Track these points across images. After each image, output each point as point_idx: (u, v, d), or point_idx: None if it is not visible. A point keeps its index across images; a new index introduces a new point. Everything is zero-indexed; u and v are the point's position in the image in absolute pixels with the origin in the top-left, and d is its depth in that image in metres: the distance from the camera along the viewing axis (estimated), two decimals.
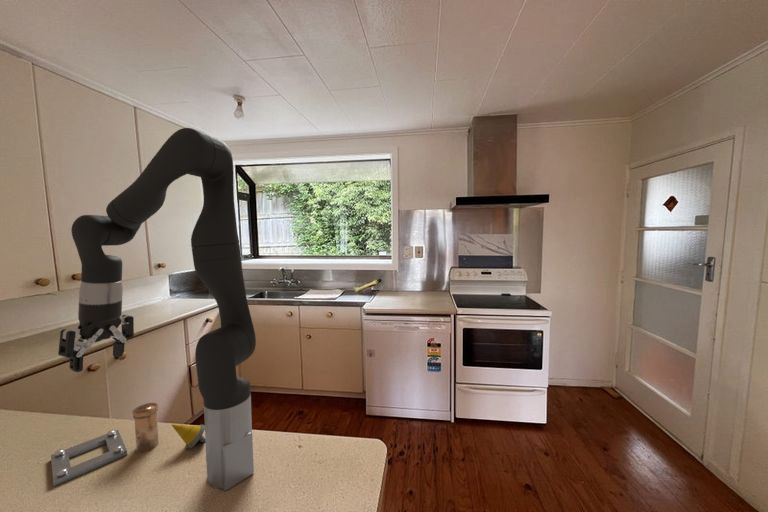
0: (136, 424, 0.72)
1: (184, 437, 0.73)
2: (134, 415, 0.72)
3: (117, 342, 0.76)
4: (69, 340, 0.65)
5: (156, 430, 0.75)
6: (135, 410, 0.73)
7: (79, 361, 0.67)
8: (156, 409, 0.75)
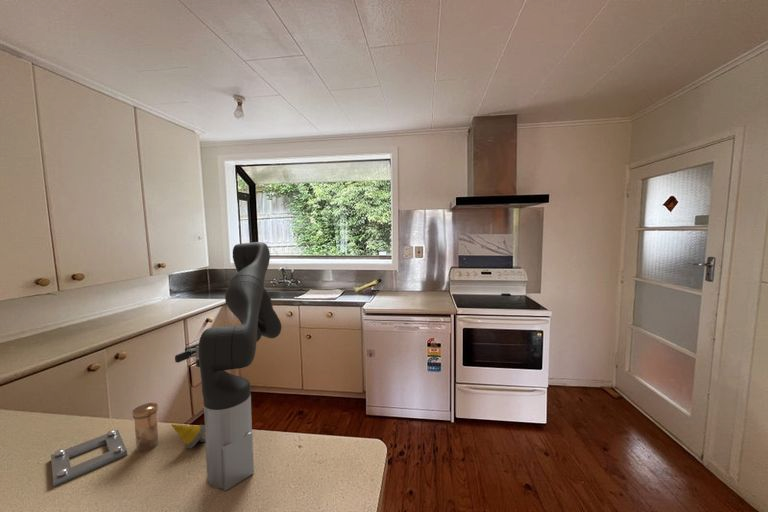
0: (136, 424, 0.72)
1: (184, 437, 0.73)
2: (134, 415, 0.72)
3: None
4: (196, 344, 0.94)
5: (156, 430, 0.75)
6: (135, 410, 0.73)
7: None
8: (156, 409, 0.75)
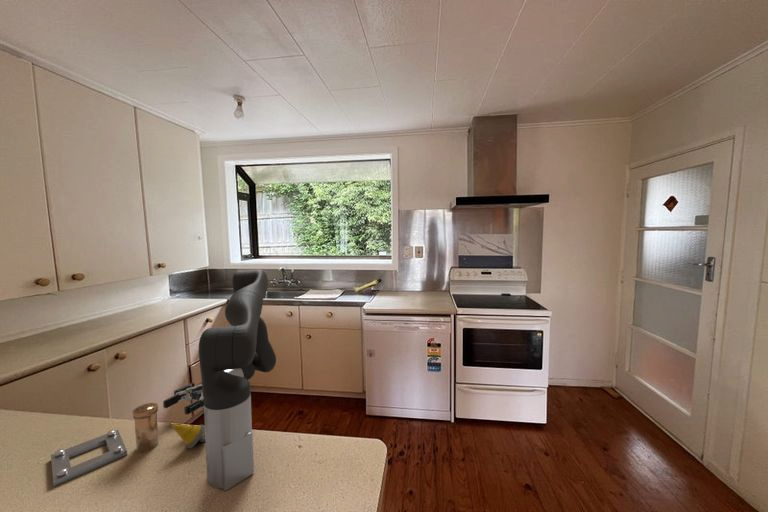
0: (136, 424, 0.72)
1: (184, 437, 0.73)
2: (134, 415, 0.72)
3: None
4: (187, 385, 0.91)
5: (156, 430, 0.75)
6: (135, 410, 0.73)
7: None
8: (156, 409, 0.75)
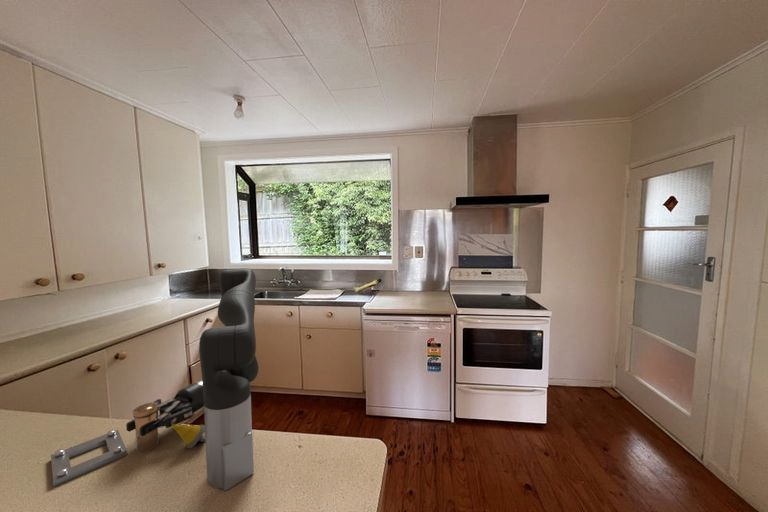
0: (136, 424, 0.72)
1: (184, 437, 0.73)
2: (134, 415, 0.72)
3: None
4: None
5: (156, 430, 0.75)
6: (135, 410, 0.73)
7: None
8: (156, 409, 0.75)
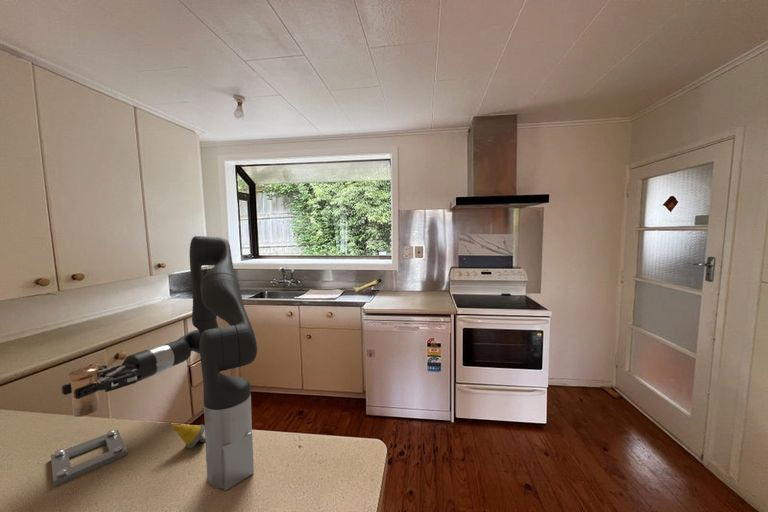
0: (72, 386, 0.68)
1: (184, 437, 0.73)
2: (69, 377, 0.68)
3: None
4: None
5: (96, 394, 0.71)
6: (72, 372, 0.69)
7: None
8: (95, 372, 0.70)
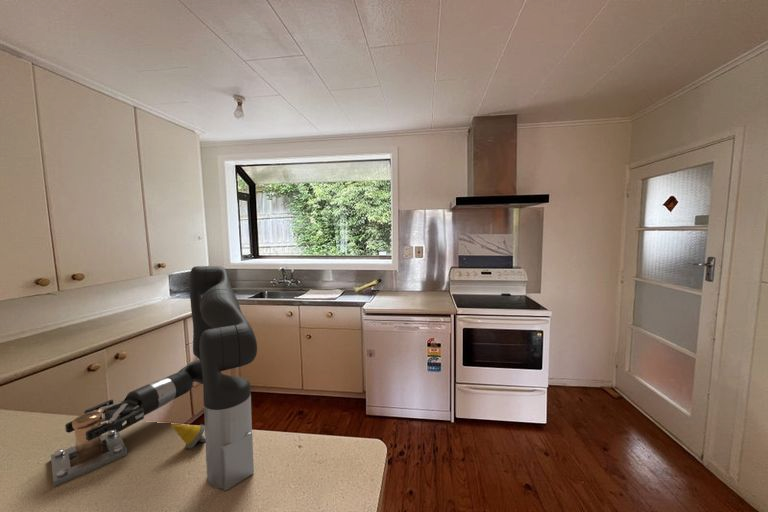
0: (76, 434, 0.69)
1: (184, 437, 0.73)
2: (73, 425, 0.68)
3: None
4: (103, 403, 0.79)
5: (99, 440, 0.71)
6: (75, 420, 0.70)
7: None
8: (99, 418, 0.71)
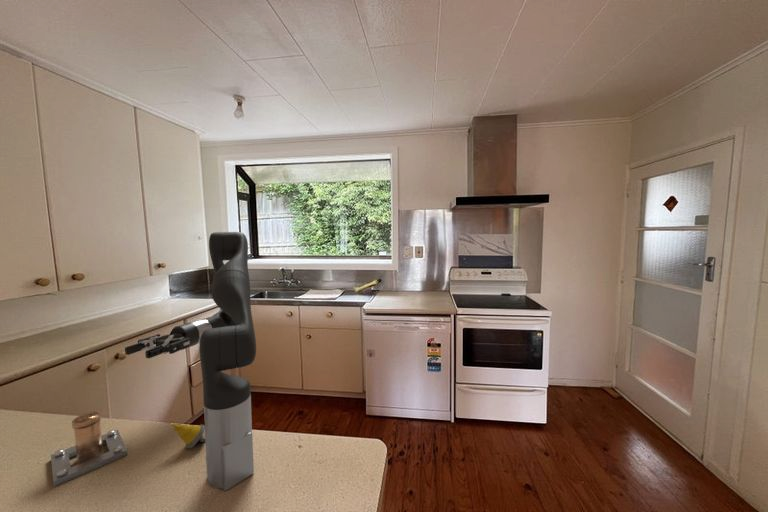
0: (76, 434, 0.69)
1: (184, 437, 0.73)
2: (73, 425, 0.68)
3: None
4: (152, 336, 0.90)
5: (99, 440, 0.71)
6: (75, 420, 0.70)
7: None
8: (99, 418, 0.71)
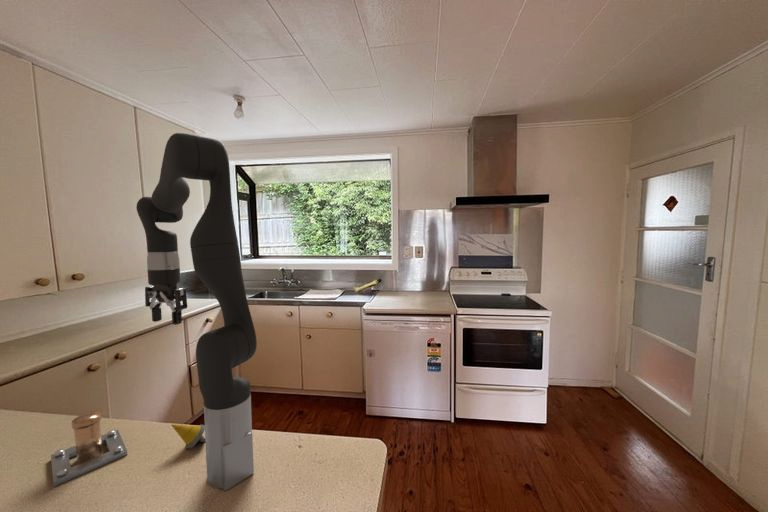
0: (75, 435, 0.69)
1: (184, 437, 0.73)
2: (73, 425, 0.68)
3: None
4: (145, 293, 0.87)
5: (99, 440, 0.71)
6: (75, 420, 0.69)
7: None
8: (98, 418, 0.71)
